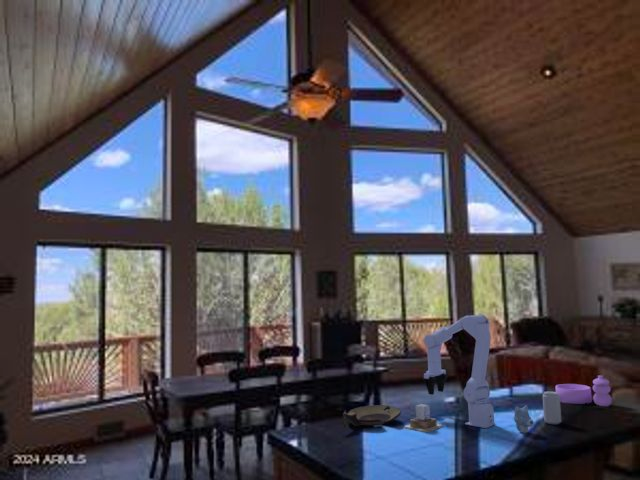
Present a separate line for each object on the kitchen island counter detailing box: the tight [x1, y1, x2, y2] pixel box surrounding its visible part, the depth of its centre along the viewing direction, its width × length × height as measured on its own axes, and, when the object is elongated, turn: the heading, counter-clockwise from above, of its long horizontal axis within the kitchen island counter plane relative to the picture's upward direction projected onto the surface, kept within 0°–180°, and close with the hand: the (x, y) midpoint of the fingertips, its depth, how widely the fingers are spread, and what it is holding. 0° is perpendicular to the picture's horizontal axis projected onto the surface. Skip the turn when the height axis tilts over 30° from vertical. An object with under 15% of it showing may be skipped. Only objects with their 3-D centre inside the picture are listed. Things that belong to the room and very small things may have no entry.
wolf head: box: [513, 404, 535, 434], centre depth 202 cm, size 6×9×10 cm
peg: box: [415, 403, 431, 422], centre depth 215 cm, size 4×4×8 cm
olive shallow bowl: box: [342, 404, 402, 427], centre depth 223 cm, size 22×30×8 cm
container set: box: [554, 374, 613, 407], centre depth 250 cm, size 25×15×13 cm, turn 36°
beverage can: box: [542, 390, 562, 425], centre depth 215 cm, size 6×6×12 cm
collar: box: [404, 417, 444, 433], centre depth 215 cm, size 11×11×3 cm
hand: (435, 392), depth 235 cm, fingers open, 7 cm apart
